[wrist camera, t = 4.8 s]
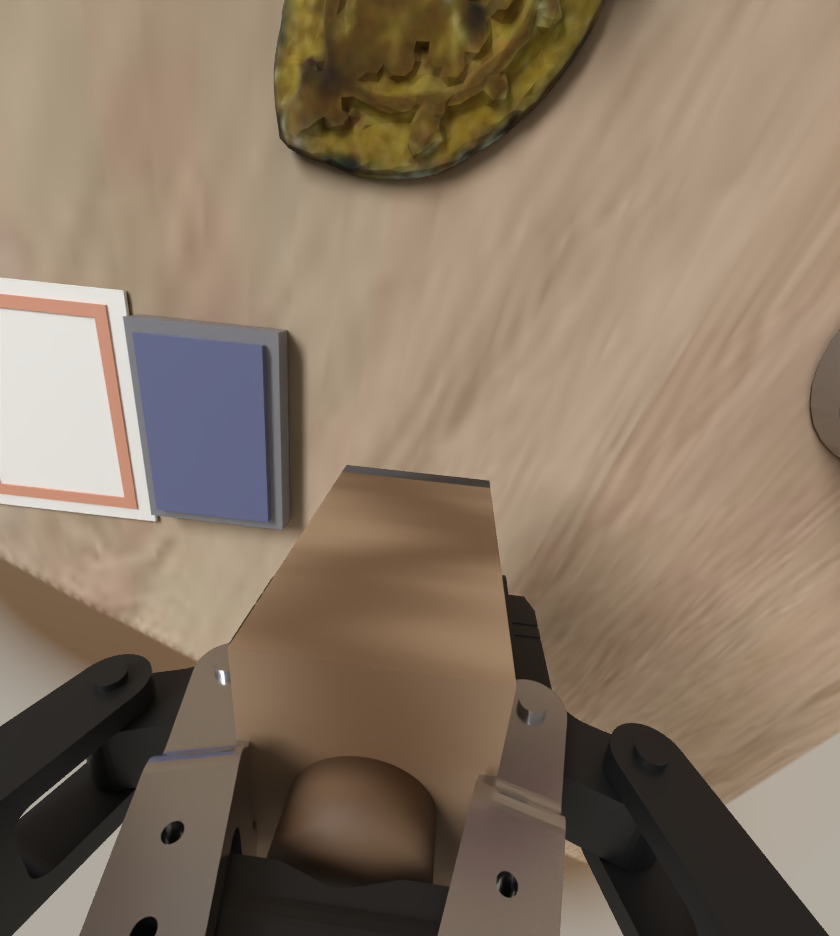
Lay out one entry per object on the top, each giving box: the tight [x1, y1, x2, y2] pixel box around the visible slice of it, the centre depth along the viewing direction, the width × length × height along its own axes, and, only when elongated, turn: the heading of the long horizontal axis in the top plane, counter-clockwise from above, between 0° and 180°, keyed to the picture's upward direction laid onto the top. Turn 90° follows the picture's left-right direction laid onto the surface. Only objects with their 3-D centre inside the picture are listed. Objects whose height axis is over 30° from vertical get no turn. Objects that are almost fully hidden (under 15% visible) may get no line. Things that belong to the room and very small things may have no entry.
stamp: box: [227, 465, 517, 889], centre depth 10 cm, size 4×6×8 cm, turn 175°
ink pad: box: [123, 315, 290, 530], centre depth 22 cm, size 7×10×2 cm
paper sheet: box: [0, 278, 158, 521], centre depth 23 cm, size 10×12×1 cm
